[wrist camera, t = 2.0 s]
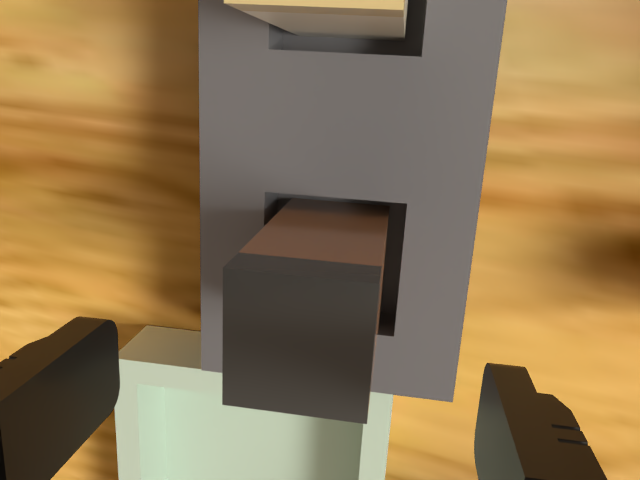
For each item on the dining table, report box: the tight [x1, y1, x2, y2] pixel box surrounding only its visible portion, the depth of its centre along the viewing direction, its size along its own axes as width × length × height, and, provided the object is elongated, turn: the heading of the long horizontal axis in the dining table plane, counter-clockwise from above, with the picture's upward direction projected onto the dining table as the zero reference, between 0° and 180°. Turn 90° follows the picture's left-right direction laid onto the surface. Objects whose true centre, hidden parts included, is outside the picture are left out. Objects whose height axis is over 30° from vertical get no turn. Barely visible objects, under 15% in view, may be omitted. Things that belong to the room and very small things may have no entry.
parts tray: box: [114, 325, 393, 480], centre depth 24 cm, size 12×11×3 cm
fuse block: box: [198, 0, 507, 402], centre depth 19 cm, size 18×9×4 cm, turn 177°
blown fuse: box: [222, 198, 390, 424], centre depth 16 cm, size 4×4×8 cm
